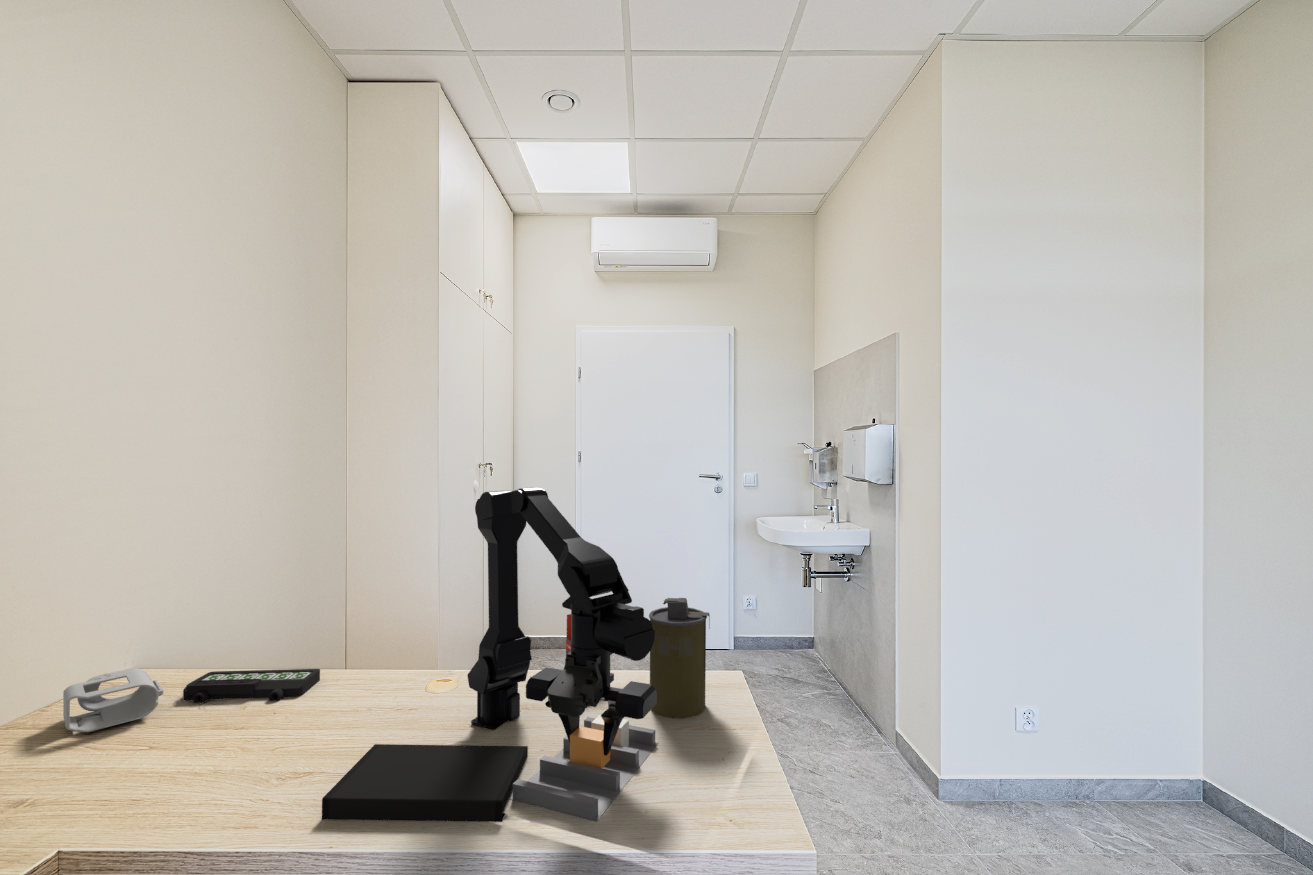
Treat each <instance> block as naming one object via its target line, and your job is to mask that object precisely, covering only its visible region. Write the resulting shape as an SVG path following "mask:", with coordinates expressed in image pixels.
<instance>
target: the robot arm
mask: <svg viewBox="0 0 1313 875" xmlns="http://www.w3.org/2000/svg"><path fill="white" fill-rule="evenodd" d="M474 507H475V508H474V509H475V510H474V512H475V515H476V521H477V522H476V523H477V529H478V530H479V532H480V534H481V535H482V536H483V538H484V539H485V541H486V543H487V574H488V576H487V579H488V580H487V582H488V585H487V586H488V590H487V591H488V596H487V597H488V598H487V599H488V628H487V630H486V632H485V634H484V636H483V637H482V639H481V641H480V643H479V646H478V647H479V648H478V656H477V657H478V660H477V661H476V662H475V664H474V665H473V667H472V668H471V669H470V670H469V672H468V673H467V675H466V676H467V681H468V687H469V688H470V689H472V690H473V691H475V692H477V693H476V694H477V697H476V703H477V704H476V706H477V708H476V710H477V711H476V717H475V718H473V719H472V720H470V721H471V722H470V724H471V725H474V726H479V727H481V728H482V727H484V728H488V729H491V730H497V729H499V728H500V727H501V726H502V725H504V724H505V723H507V722H513V721H514V720H516V719H517V718H519V717H520V716H521V710H520V708H521V694H520V692H519V683H521V682H526V679H527V675H528V672H529V668H530V665H531V661H532V659H533V658H532V657H533V656H532V654H531V653H532V651H531V646H532V645H531V644H532V640H531V637H529V636H526V635H525V634H524V632H523V631H522V628H520V626H519V580H518V579H519V578H518V574H519V573H518V570H519V569H518V566H519V565H518V564H519V563H518V542H519V539H520V538H521V536H522V534H523V533H524V530H525V529H526V526H527V524H528V526H529V527H530V528H531V529H532V530H533V531H534V533H535V534H536V536H538V538H539V539H540V540H541V542H542V543H543V544H544V546H545V547H546V548H547V549H548V551H549V552H550V554H551V555H552V557H553V558H554V559H555V561H556V562H557V577H558V578H559V581H560V582H561V584H562V586H563V587H564V590H565V592H566V593H567V594H568V597H567V598H566V599H565V600H564V601H563V602H562V604H561V607H563V608H565V609H567V610H570V614H571V651H570V652H569V653H567V654H566V653H565V660H564V661H565V662H564V663H565V664H564V667H563V669H558V668H553V667H552V668H551V667H547V666H546V667H544V668H543V669H541V670H540V671H538V672H537V673H535V674H534V675H532V676H530V677H529V679H528V680H527V682H526V685H525V699H527V700H532V701H538V702H543V701H545V700H546V699H547V701H546V702H545V703H544V704H545V706H546V708H550V710H551V712H552V713H554V714H557V715H558V717H559V718H560V721H561V724H562V726H563V729H564V731H565V734H566V736H567V737H568V740H569V743H570V735H571V734H572V733H573V732H574V731H575V730H576V729H577V728H579V727H580V722H581V721H580V718H581V715H583V714H584V712H585V711H586V709H587V708H589V707H592V708H596V707H597V706H598V705H599V703H600V701H603V702H607V705H608V708H606V710H604V711H603V713H601V714H600V715H601V717H602V719H603V721H604V736H603V748H604V755H605V756H607V755H608V753H609V752H610V749H611V747H612V744H613V741H614V739H615V736H616V734H617V731H618V728H619V726H620V723H621V721H622V719H625V718H628V719H634V720H641V719H644V718H645V717H646V716H647V715H648V713H649V712H650V711H652V710H651V709H652V708H653V707H654V706H655V705H656V704H657V692H656V690H655V688H654V687H653V685H652V684H650V683H645V682H639V681H633V680H630V682H628V683H627V684H626V685H625V686H624V687H613V686H611V683H613V682H614V681H615V673H613V672H611V656H612V655H613V654H615V655H617V656H620V657H622V658H625V659H627V660H631V661H634V662H638V661H642V660H643V659H645V657H647V656H648V655H649V654H650V650H651V648H652V646H653V643H654V638H655V630H654V629H653V626H652V623H651V622H650V618H647V617H645V609H644V607H640V606H631V605H629V604H632V602H633V599H632V597H631V595H630V592H629V588H628V586H627V585H626V584H625V582H624V579H623V577H622V575H621V572H620V571H619V568H618V565H617V562H616V560H615V559H614V558H613V557H612V556H611V555H610V554H609V553H608V552H607V551H605V550H604V549H602V548H601V547H600V546H598V545H596V544H594V543H591V542H589V541H587V540H585V539H584V538H583V537H582V536H580V534H579V533H578V532H577V531H576V529H574V527H573V526H572V525H571V523H570V522H569V521H568V520H567V519H566V517H564V515H563V514H562V513H561V512H560V511H559V509H558V508H557V507H556V505H555V504H554V503H553V502H552V501H551V500H550V499H549V496H548V492H547V491H546V489H544V488H541V487H538V486H537V487H524V488H521V487H520V488H517V489H511V490H510V489H509V490H494V491H493V490H491V491H484V492H483V493H482V494H480V496H479V498H478V499H476V502H475V505H474ZM611 592H612V593H611ZM608 593H610V594H608ZM605 594H607V595H605ZM601 595H603V596H601ZM596 596H598V597H596ZM592 597H595V598H592Z"/></svg>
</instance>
